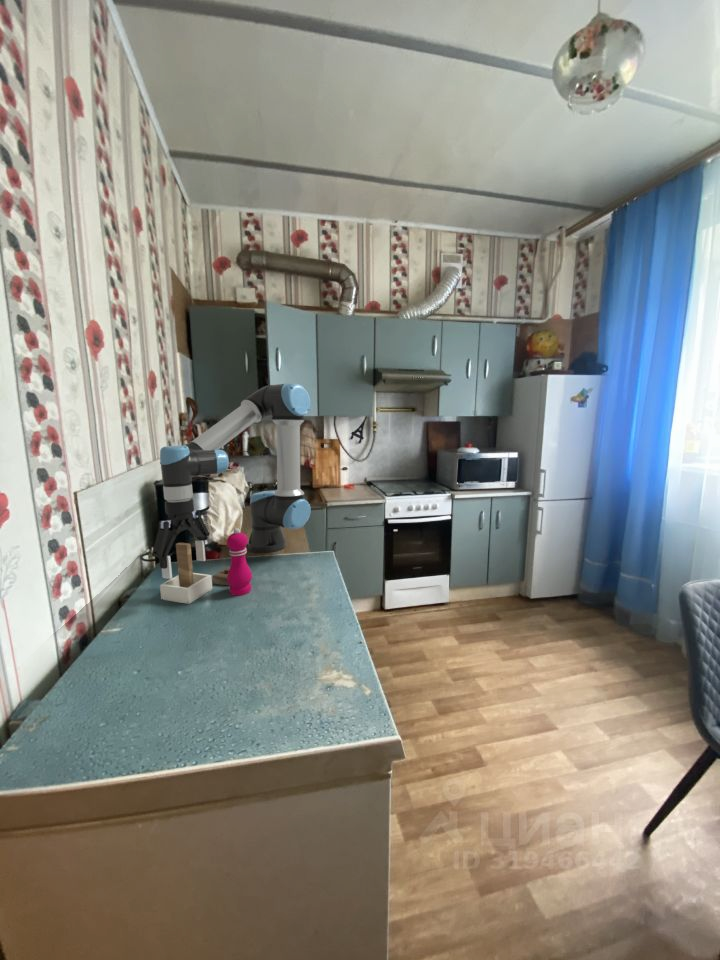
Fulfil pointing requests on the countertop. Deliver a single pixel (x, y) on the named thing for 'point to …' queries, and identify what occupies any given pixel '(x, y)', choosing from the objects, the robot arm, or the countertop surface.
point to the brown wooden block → (184, 564)
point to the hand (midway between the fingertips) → (185, 568)
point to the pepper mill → (238, 564)
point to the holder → (221, 577)
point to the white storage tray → (186, 589)
